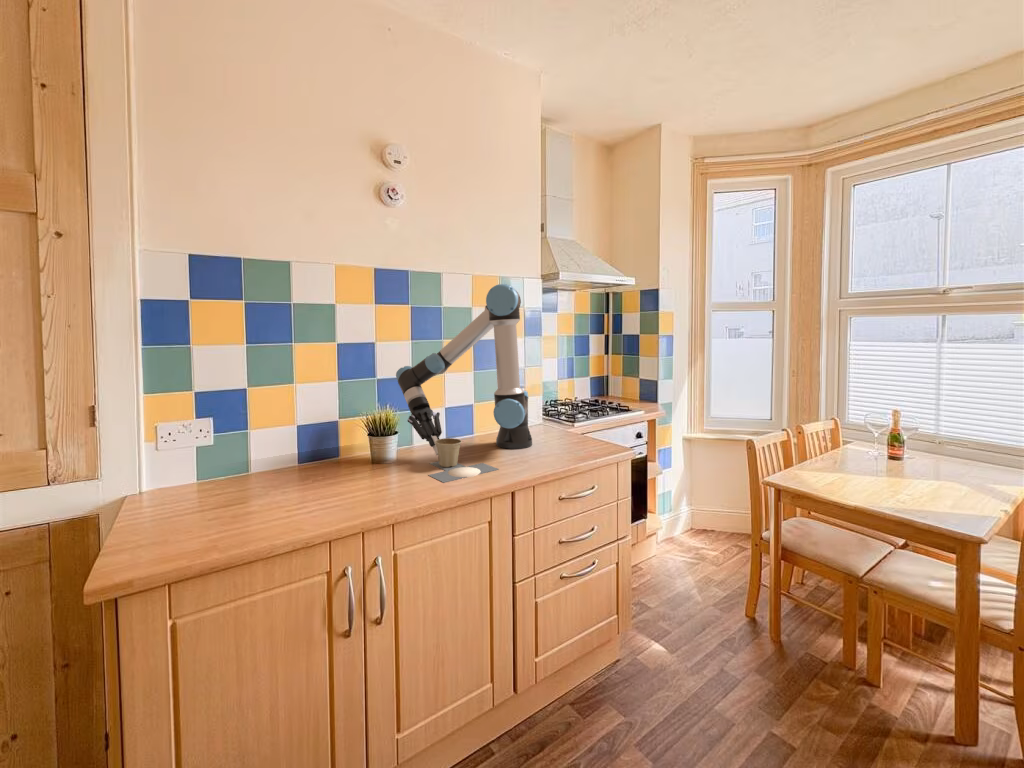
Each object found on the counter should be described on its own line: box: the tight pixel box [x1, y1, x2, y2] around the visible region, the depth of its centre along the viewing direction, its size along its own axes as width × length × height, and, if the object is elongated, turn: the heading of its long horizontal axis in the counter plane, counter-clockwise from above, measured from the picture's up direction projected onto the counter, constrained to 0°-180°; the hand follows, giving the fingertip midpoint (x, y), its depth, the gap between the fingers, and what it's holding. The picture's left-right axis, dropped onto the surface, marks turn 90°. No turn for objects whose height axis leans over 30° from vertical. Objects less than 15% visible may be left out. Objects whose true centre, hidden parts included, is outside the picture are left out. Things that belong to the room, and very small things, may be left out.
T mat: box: [427, 460, 500, 484], centre depth 161 cm, size 22×22×1 cm
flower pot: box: [435, 437, 463, 467], centre depth 164 cm, size 9×9×9 cm
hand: (439, 452), depth 167 cm, fingers closed
